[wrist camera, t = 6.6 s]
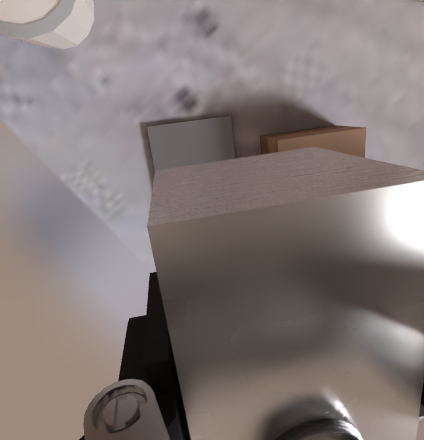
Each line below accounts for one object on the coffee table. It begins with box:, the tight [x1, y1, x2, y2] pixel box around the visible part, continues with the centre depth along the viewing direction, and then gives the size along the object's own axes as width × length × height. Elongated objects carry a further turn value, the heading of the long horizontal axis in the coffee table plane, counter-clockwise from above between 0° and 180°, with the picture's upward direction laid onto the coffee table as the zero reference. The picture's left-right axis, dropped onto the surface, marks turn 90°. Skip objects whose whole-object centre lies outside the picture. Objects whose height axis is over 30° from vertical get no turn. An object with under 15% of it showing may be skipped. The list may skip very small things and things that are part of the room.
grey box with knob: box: [147, 147, 424, 440], centre depth 9 cm, size 9×5×6 cm, turn 7°
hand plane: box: [260, 126, 366, 158], centre depth 28 cm, size 18×7×8 cm, turn 7°
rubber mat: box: [147, 116, 235, 170], centre depth 28 cm, size 10×7×1 cm
